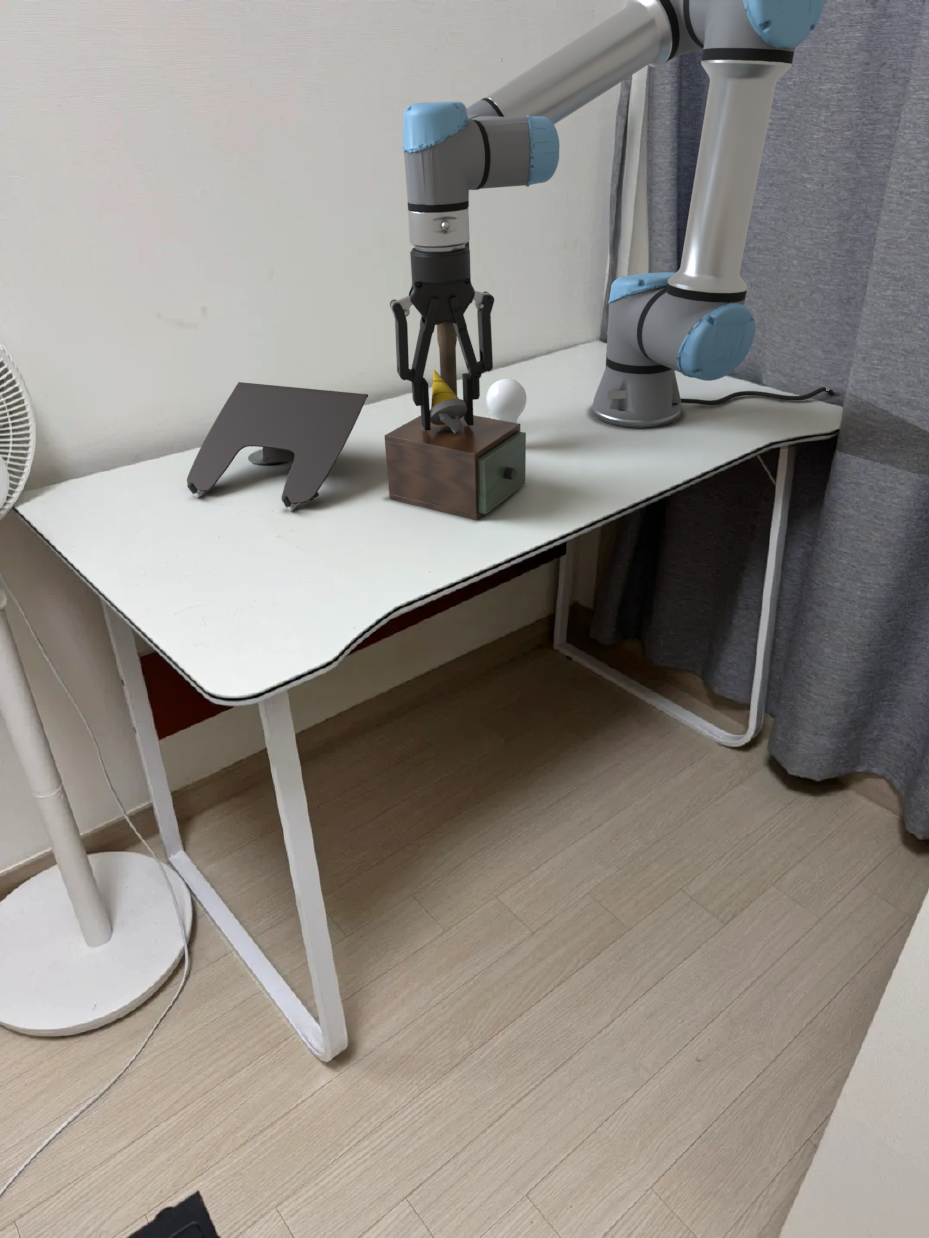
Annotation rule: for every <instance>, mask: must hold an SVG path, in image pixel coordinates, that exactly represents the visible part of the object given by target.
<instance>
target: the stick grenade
mask: <svg viewBox="0 0 929 1238" xmlns="http://www.w3.org/2000/svg"><path fill="white" fill-rule="evenodd" d="M465 246H467V247H468V249H470V240H469V241H468V242H467V243H466V244H465ZM473 302H474V299H473V300H472V301H471V303H470V305H471V304H472V303H473ZM436 336H437V337H436V339H437V345H438V349H439V350H438V351H439V352H438V353H439V372H440V373H439V375H440V377H441V378H442V379H443V380H444V381H445V383H446V384H447V385H448V386H449V387H450V389H451V390H452V391H453V392H454V393H455V394H456V396H457V397H458V378H457V377H458V376H457V373H458V372H457V344H458V343H457V341H458V338H457V334H456V331H455V328H454V325H453V323H445V322H444V323H442V324H439V325H436Z"/></svg>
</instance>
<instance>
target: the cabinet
mask: <svg viewBox="0 0 929 1238" xmlns="http://www.w3.org/2000/svg"><path fill="white" fill-rule="evenodd" d="M460 420H461V423H462V428H461V429H459V430H458V431H457V432H456V433H454V432H453V431H452V430H451V428H450V427H449V426H448V425H446V424H445V425H435V424H432V423H431V421H430V426H431V430H427V431H425V429H424V427H423V426H422V423H421V415H418V416H417V417H415V418H413V419H412V420H410V421H408V422H406V423H405V424H402V425H401V426H399V427H397V428H395V429H393V430H392V431H390V432H388V433H386V434H385V435H384V446H385V461H386V471H387V472H386V473H387V483H388V495H389V496H388V497H389V500H393V501H397V502H402V503H405V504H409V505H413V506H417V507H421V508H426V509H430V510H434V511H438V512H442V513H445V514H450V515H453V516H458V517H462V518H466V519H471V520H475V521H477V520H478V519H480V518H481V517H482V516H484V515H485V514H483V513H479V502H478V457H479V456H481V455H482V454H484V453H485V452H487V451H488V450H490V449H491V448H493V447H494V446H496V445H497V444H499V443H500V442H502V441H503V440H505V439H506V438H509V437H511V436H512V435H514V434H515V433H517V432H518V431H520V432H521V423H519V422H517V423H513V422H508V421H502V420H497V419H494V418H491V417H485V416H479V415H475V414H473V423H474V425H471V426H468V425H467V423H466V422H465V420H464V416H463V417H462V418H461V419H460Z"/></svg>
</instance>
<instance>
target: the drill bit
mask: <svg viewBox="0 0 929 1238" xmlns="http://www.w3.org/2000/svg"><path fill="white" fill-rule="evenodd" d="M430 405H431V406H430V421H431V423H432V424H435V425H445V424H446V425H448V426H449V427H450V428H451V430H452V431H453V432H454V433H456V432H457V431H458V430H459V429H461V428H462V423H461V420H460V419H461V418H462V417H463V416H464V415H465V414H466V413H467V406H466V403H465V401H464V400H463V398H462V399H461V398H459V397H458V395H457V396H456V394H455V393H454V392H453V391H452V390H451V389H450V387H449V386H448V385H447V384H446V383H445V381H444V380H443V379H442V378H441V377H440V373H439V372H437V370H435V369H433V372H432V387H431V404H430Z"/></svg>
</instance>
